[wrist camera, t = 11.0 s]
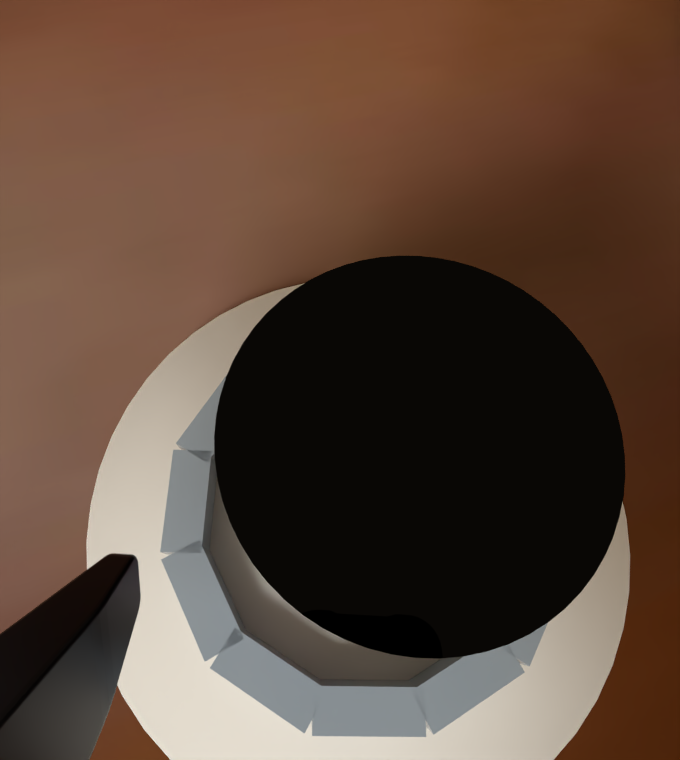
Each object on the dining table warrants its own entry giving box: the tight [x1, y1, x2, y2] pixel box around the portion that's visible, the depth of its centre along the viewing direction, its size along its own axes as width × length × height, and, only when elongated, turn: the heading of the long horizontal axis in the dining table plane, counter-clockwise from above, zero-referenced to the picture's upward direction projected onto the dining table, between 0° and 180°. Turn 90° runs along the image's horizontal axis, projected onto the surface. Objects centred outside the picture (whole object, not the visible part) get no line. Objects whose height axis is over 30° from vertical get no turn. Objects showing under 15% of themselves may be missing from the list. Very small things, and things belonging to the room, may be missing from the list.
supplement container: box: [214, 256, 625, 659], centre depth 14 cm, size 7×7×10 cm
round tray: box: [87, 284, 630, 760], centre depth 19 cm, size 18×18×2 cm
